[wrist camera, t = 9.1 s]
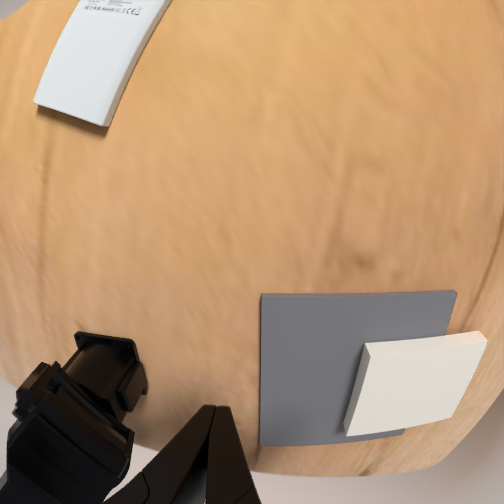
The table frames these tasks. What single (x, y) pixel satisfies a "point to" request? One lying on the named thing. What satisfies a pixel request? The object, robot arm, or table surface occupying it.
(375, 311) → the mat
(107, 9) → the external hard drive
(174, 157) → the table surface
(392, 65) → the table surface
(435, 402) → the tile
